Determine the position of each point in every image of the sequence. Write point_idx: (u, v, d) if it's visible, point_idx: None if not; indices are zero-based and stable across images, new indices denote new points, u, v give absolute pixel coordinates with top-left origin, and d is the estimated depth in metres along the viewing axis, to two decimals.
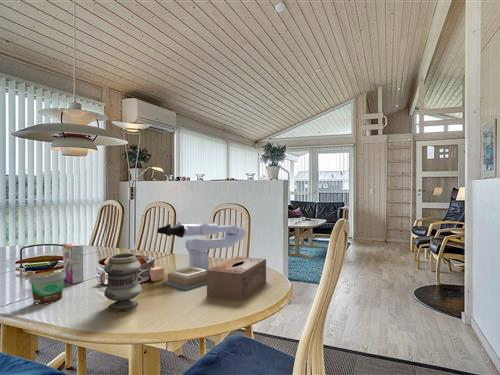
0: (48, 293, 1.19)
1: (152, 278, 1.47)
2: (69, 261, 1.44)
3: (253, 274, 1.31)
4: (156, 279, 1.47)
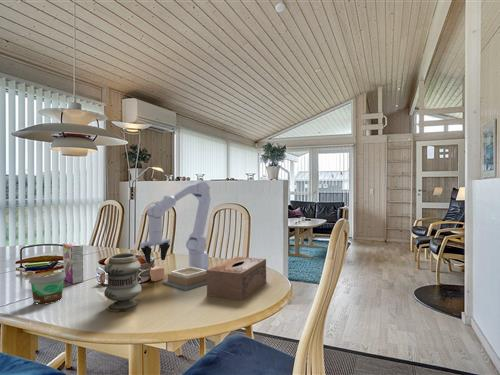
0: (48, 293, 1.19)
1: (152, 278, 1.47)
2: (69, 261, 1.44)
3: (253, 274, 1.31)
4: (156, 279, 1.47)
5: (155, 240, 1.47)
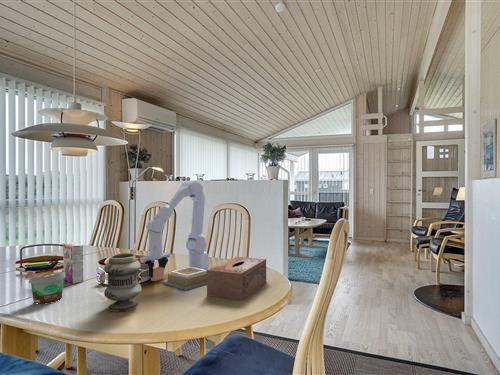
0: (48, 293, 1.19)
1: (152, 278, 1.47)
2: (69, 261, 1.44)
3: (253, 274, 1.31)
4: (156, 279, 1.47)
5: (155, 255, 1.47)
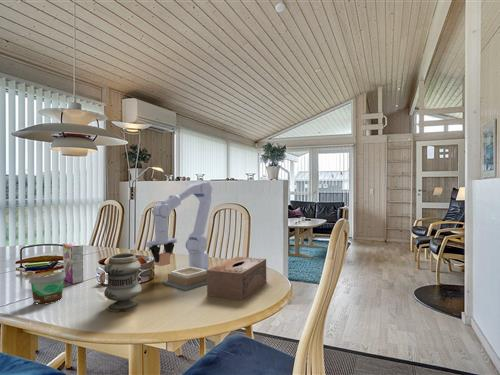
0: (48, 293, 1.19)
1: (158, 263, 1.46)
2: (69, 261, 1.44)
3: (253, 274, 1.31)
4: (162, 264, 1.46)
5: (161, 239, 1.46)
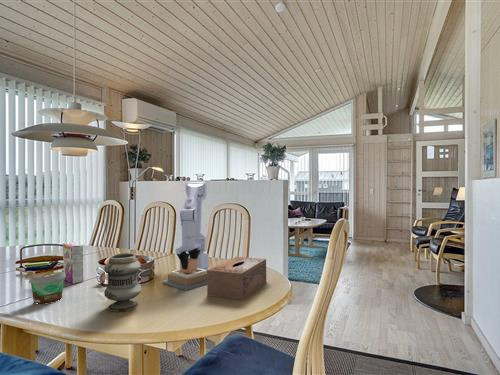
0: (48, 293, 1.19)
1: (186, 270, 1.41)
2: (69, 261, 1.44)
3: (253, 274, 1.31)
4: (190, 271, 1.41)
5: (190, 245, 1.41)
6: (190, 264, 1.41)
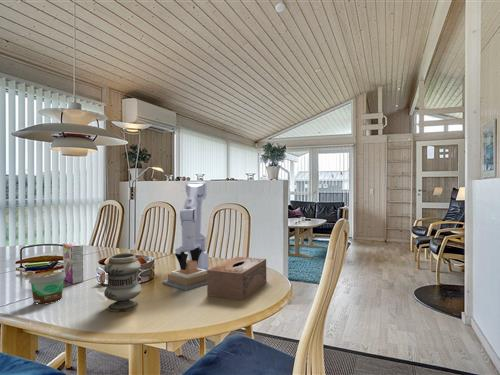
0: (48, 293, 1.19)
1: (186, 272, 1.41)
2: (69, 261, 1.44)
3: (253, 274, 1.31)
4: (190, 273, 1.41)
5: (190, 245, 1.41)
6: (190, 266, 1.41)
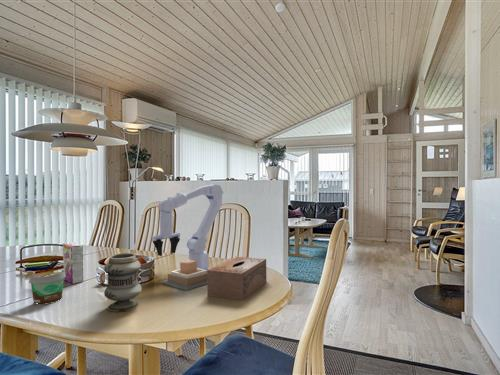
0: (48, 293, 1.19)
1: (186, 272, 1.41)
2: (69, 261, 1.44)
3: (254, 274, 1.31)
4: (190, 273, 1.41)
5: (166, 233, 1.53)
6: (190, 266, 1.41)
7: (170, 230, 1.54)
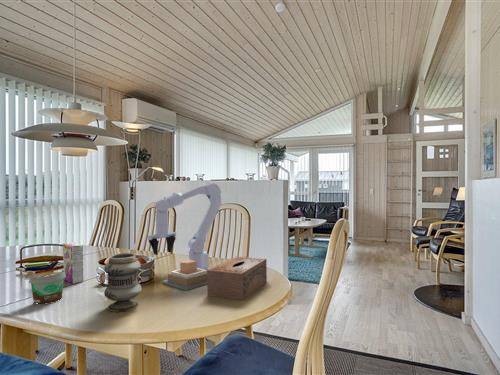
0: (48, 293, 1.19)
1: (186, 272, 1.41)
2: (69, 261, 1.44)
3: (254, 274, 1.31)
4: (190, 273, 1.41)
5: (162, 233, 1.55)
6: (190, 266, 1.41)
7: (166, 229, 1.56)
